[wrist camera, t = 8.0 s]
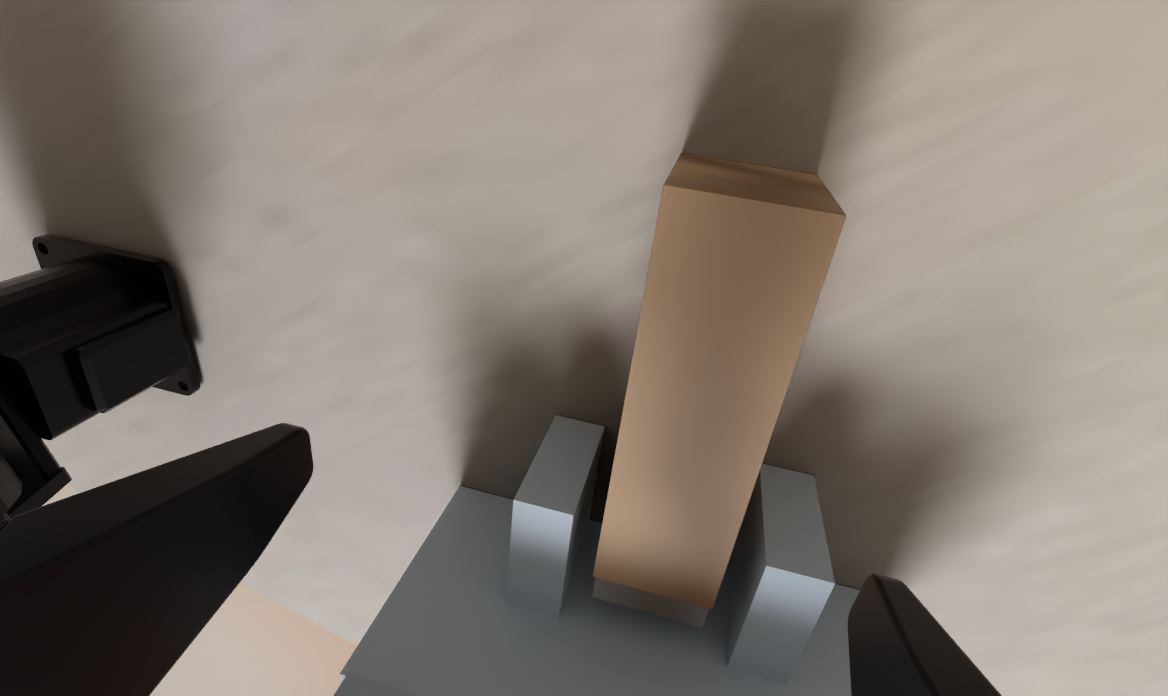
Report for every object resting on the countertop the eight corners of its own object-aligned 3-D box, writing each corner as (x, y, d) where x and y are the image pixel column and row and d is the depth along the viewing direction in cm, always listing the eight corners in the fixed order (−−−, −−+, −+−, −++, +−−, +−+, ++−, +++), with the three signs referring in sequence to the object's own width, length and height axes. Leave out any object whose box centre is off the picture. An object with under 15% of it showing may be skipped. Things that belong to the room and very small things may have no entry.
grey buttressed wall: (459, 521, 27) (322, 752, 18) (461, 392, 23) (293, 599, 14) (859, 629, 24) (932, 964, 15) (928, 502, 21) (1075, 838, 12)
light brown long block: (615, 498, 24) (588, 596, 20) (681, 152, 17) (663, 184, 13) (710, 522, 23) (705, 628, 19) (817, 174, 17) (846, 215, 12)
